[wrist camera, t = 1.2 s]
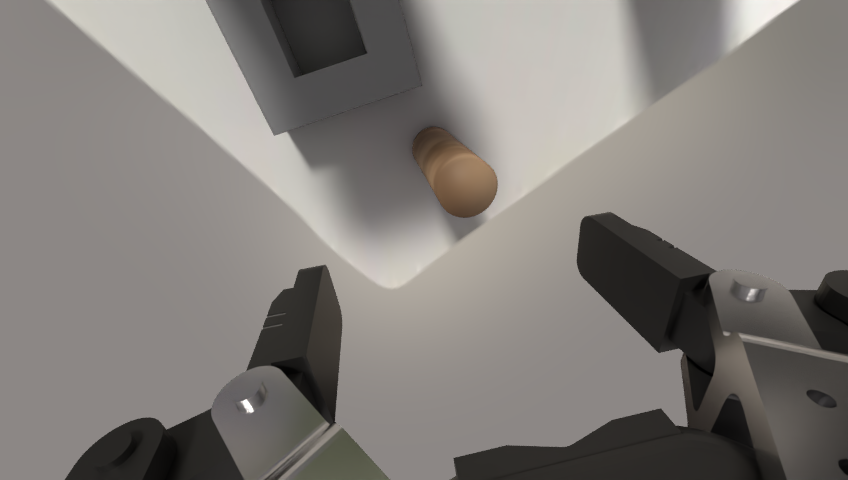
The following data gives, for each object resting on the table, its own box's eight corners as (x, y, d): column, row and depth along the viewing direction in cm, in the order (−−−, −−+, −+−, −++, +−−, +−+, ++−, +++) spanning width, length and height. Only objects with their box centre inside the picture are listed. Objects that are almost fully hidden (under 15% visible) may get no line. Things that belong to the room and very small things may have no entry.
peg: (447, 120, 32) (491, 149, 21) (457, 161, 34) (502, 206, 23) (407, 134, 32) (430, 170, 21) (419, 174, 34) (446, 225, 23)
